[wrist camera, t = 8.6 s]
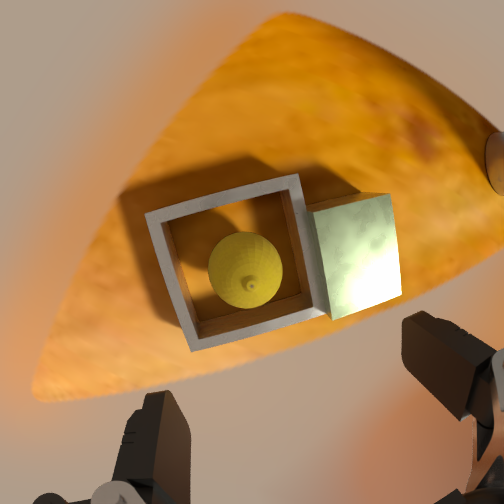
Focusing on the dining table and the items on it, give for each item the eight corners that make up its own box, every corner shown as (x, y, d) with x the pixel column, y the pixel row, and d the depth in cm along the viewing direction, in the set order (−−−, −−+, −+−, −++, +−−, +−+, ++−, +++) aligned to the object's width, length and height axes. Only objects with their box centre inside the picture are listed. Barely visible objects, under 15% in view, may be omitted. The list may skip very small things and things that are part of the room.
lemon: (195, 253, 26) (189, 281, 18) (244, 212, 25) (259, 223, 18) (235, 298, 27) (246, 340, 19) (282, 259, 27) (311, 288, 19)
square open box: (355, 161, 26) (383, 157, 21) (374, 278, 29) (401, 294, 24) (153, 210, 24) (139, 215, 19) (192, 333, 27) (190, 361, 22)
